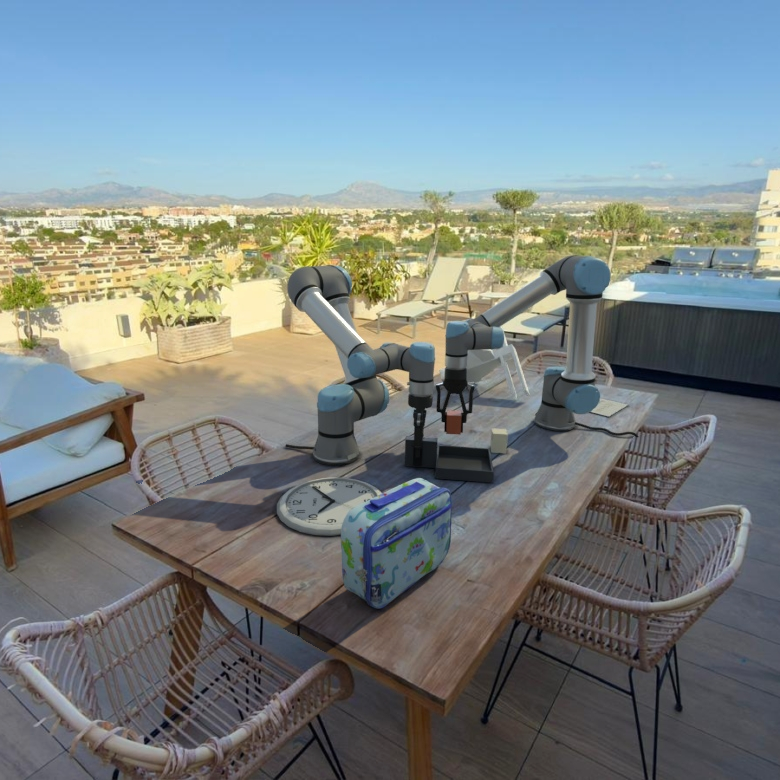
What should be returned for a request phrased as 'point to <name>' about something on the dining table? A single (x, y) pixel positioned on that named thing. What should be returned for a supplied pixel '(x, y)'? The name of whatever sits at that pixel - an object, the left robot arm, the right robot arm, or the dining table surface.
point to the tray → (452, 460)
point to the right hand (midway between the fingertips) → (453, 430)
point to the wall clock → (323, 504)
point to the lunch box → (395, 540)
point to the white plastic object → (493, 365)
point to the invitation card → (608, 407)
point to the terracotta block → (453, 422)
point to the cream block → (498, 440)
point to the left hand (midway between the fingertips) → (417, 463)
